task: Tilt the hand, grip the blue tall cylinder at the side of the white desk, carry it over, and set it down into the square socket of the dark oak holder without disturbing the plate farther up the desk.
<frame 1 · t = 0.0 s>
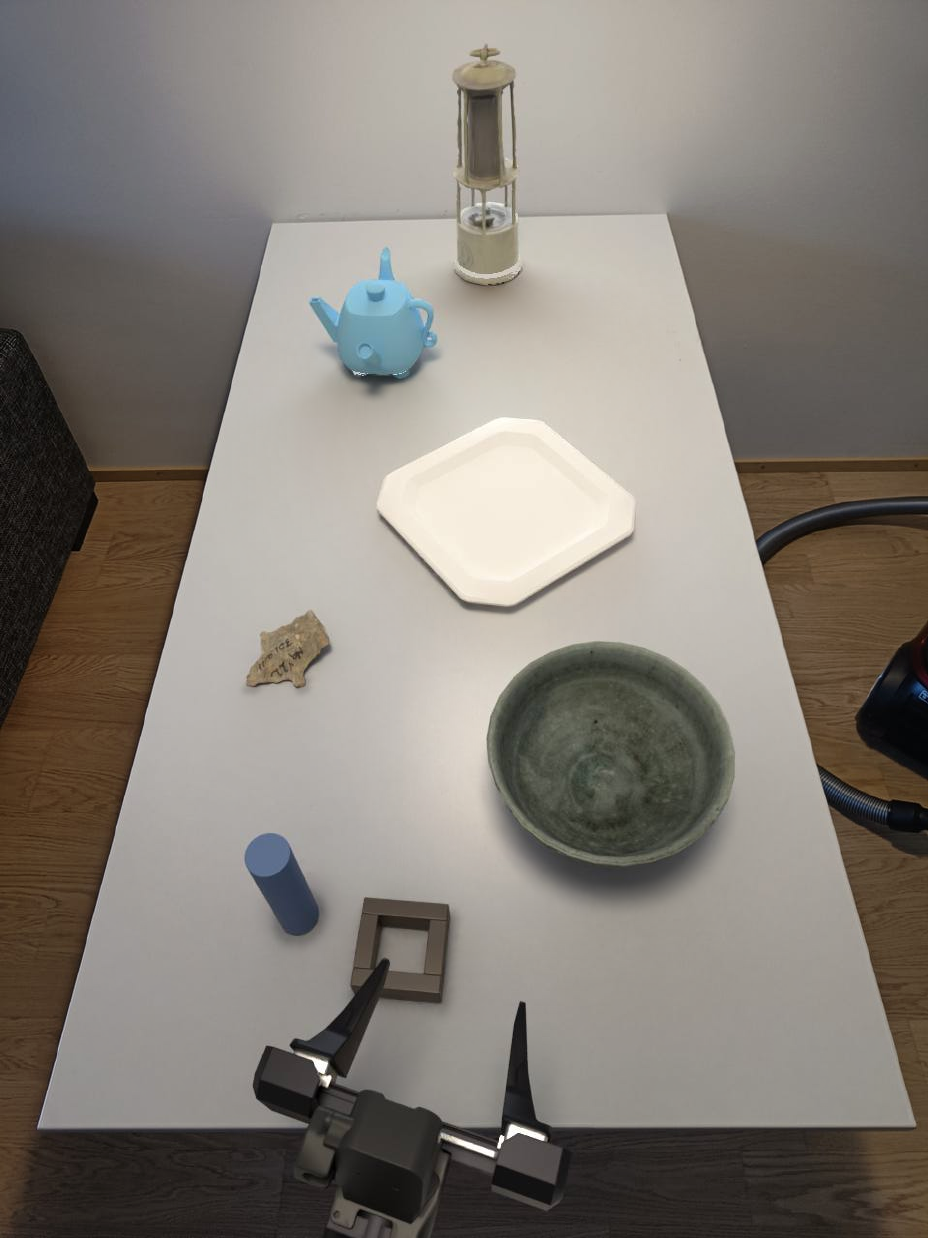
hand: (453, 981, 57), 16 cm above the table, tool horizontal, fingers open, 9 cm apart
lamp: (488, 262, 136), on the table
plate: (505, 515, 104), on the table
artifact: (290, 659, 92), on the table
blue tall cylinder: (299, 915, 76), on the table
holder: (403, 954, 74), on the table
teapot: (379, 360, 122), on the table
bowl: (598, 794, 82), on the table
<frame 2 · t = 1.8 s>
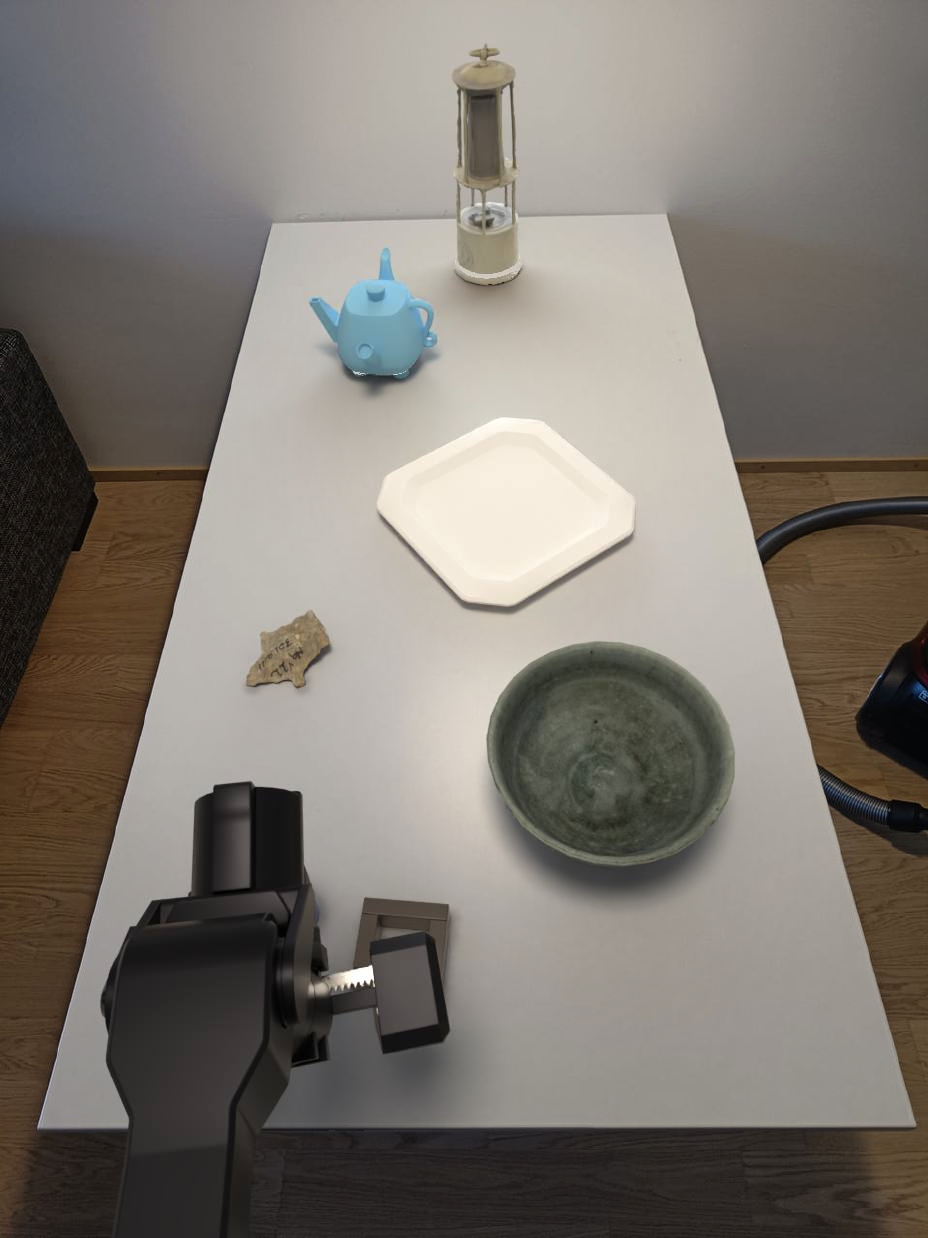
hand: (310, 1024, 59), 12 cm above the table, tool pointing down, fingers open, 9 cm apart
nothing on the table moved.
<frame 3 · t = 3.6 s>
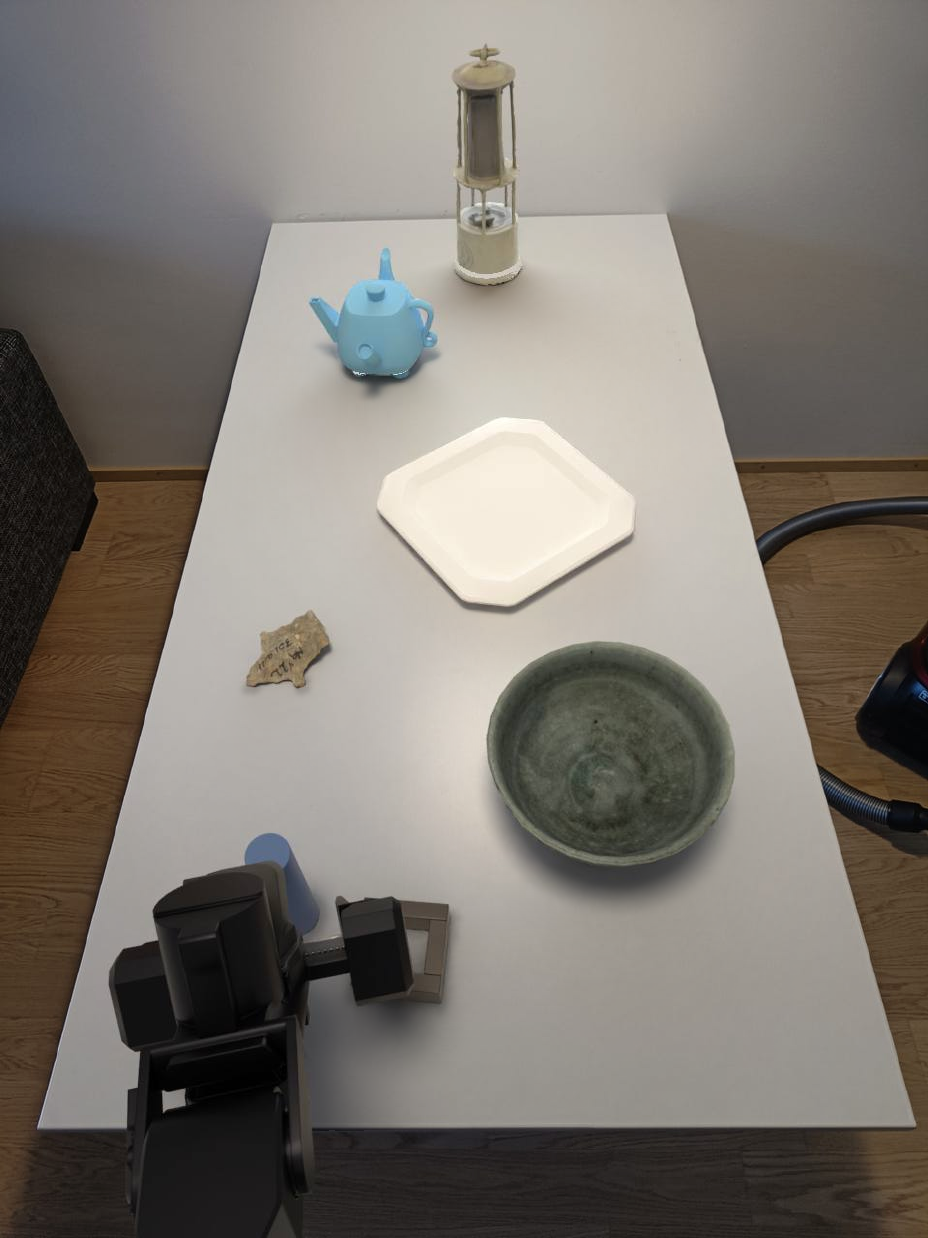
hand: (278, 914, 66), 10 cm above the table, tool tilted 45°, fingers open, 9 cm apart
nothing on the table moved.
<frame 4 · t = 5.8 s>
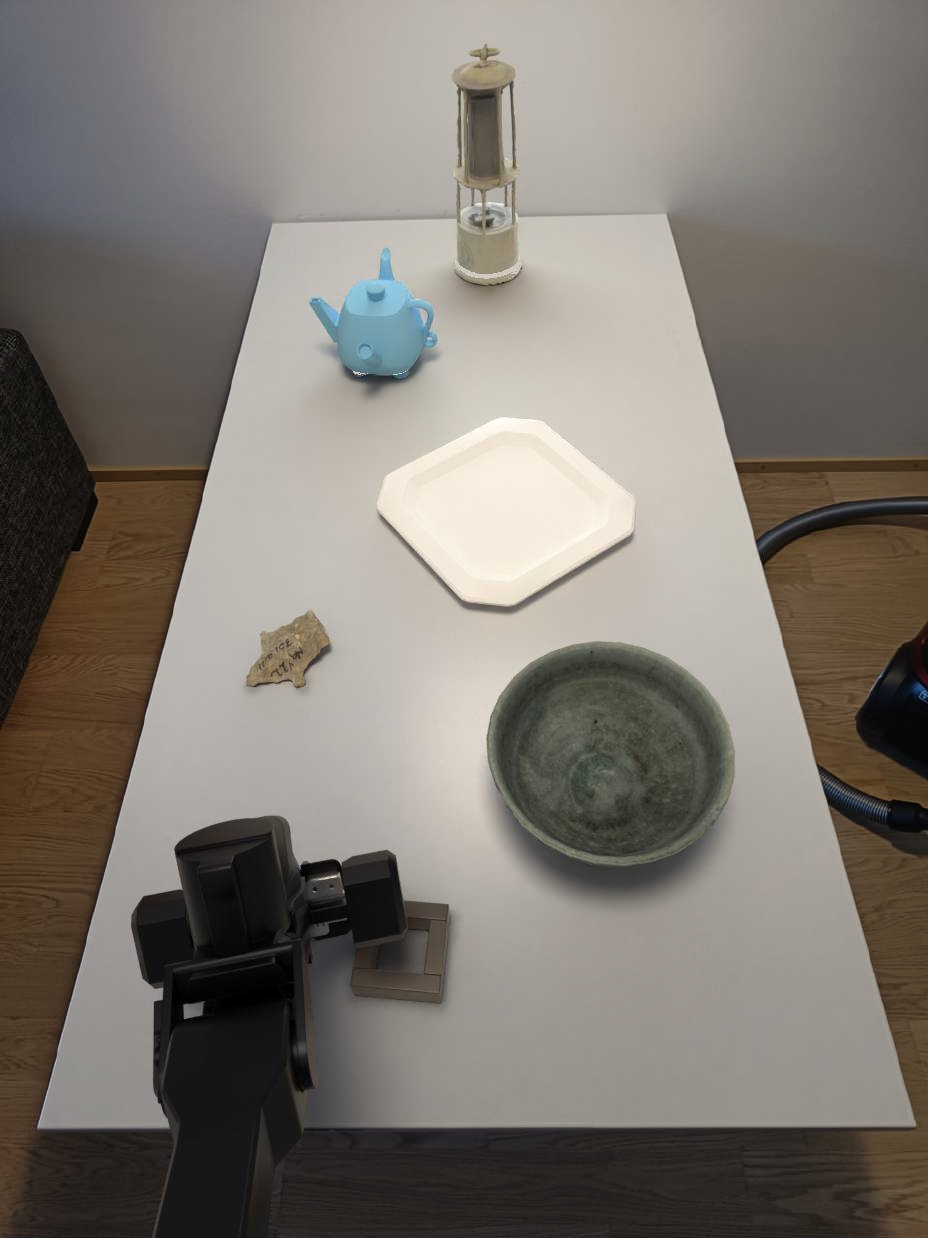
hand: (283, 871, 71), 7 cm above the table, tool tilted 45°, fingers closed on blue tall cylinder, 3 cm apart
blue tall cylinder: (299, 915, 76), on the table, touching gripper
everything else where it was.
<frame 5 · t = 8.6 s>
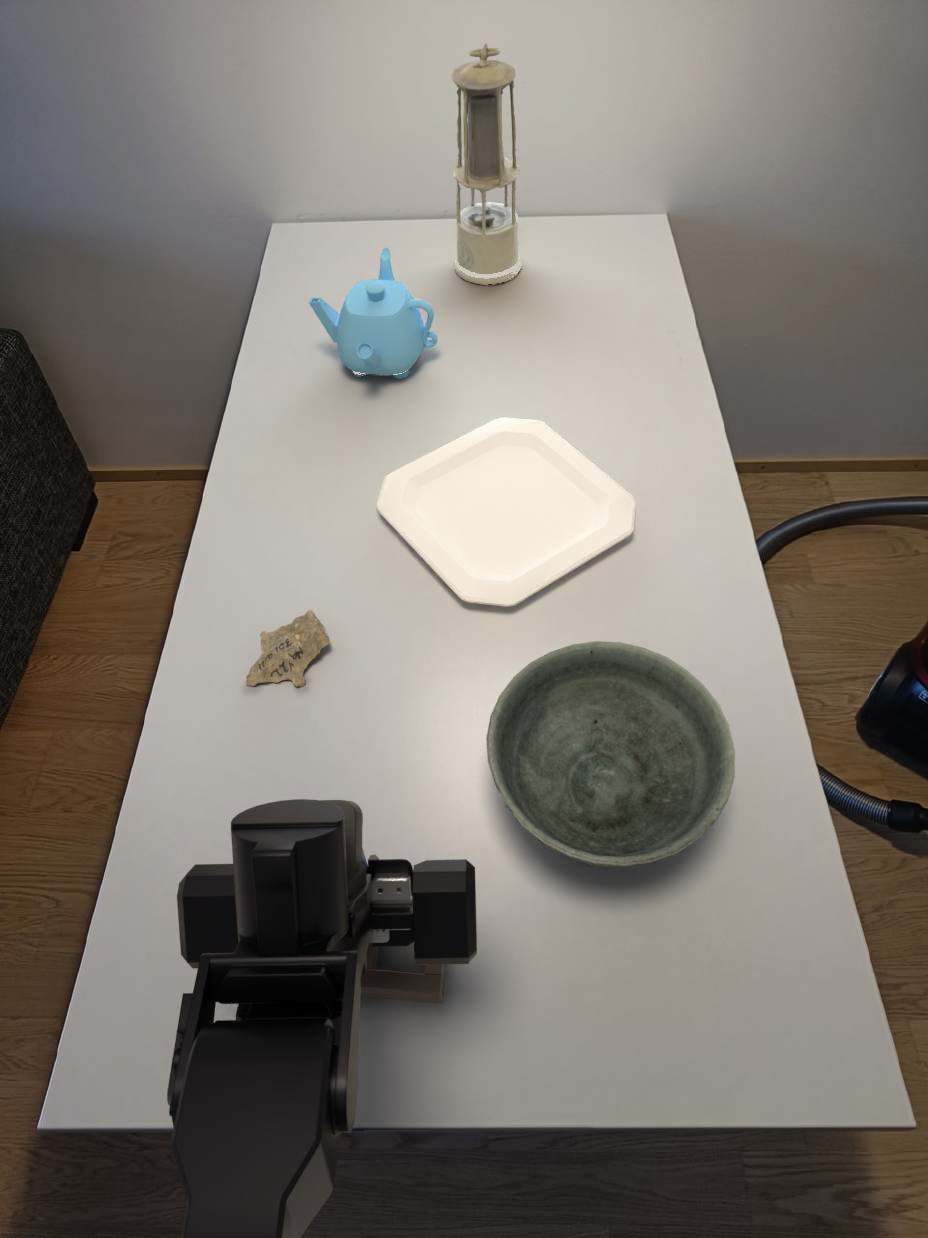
hand: (348, 861, 65), 13 cm above the table, tool tilted 45°, fingers closed on blue tall cylinder, 3 cm apart
blue tall cylinder: (358, 911, 69), point 7 cm above the table, touching gripper
everything else where it was.
when the fingers open (7 cm above the table, at t = 11.6 s): blue tall cylinder stays where it is, resting in holder.
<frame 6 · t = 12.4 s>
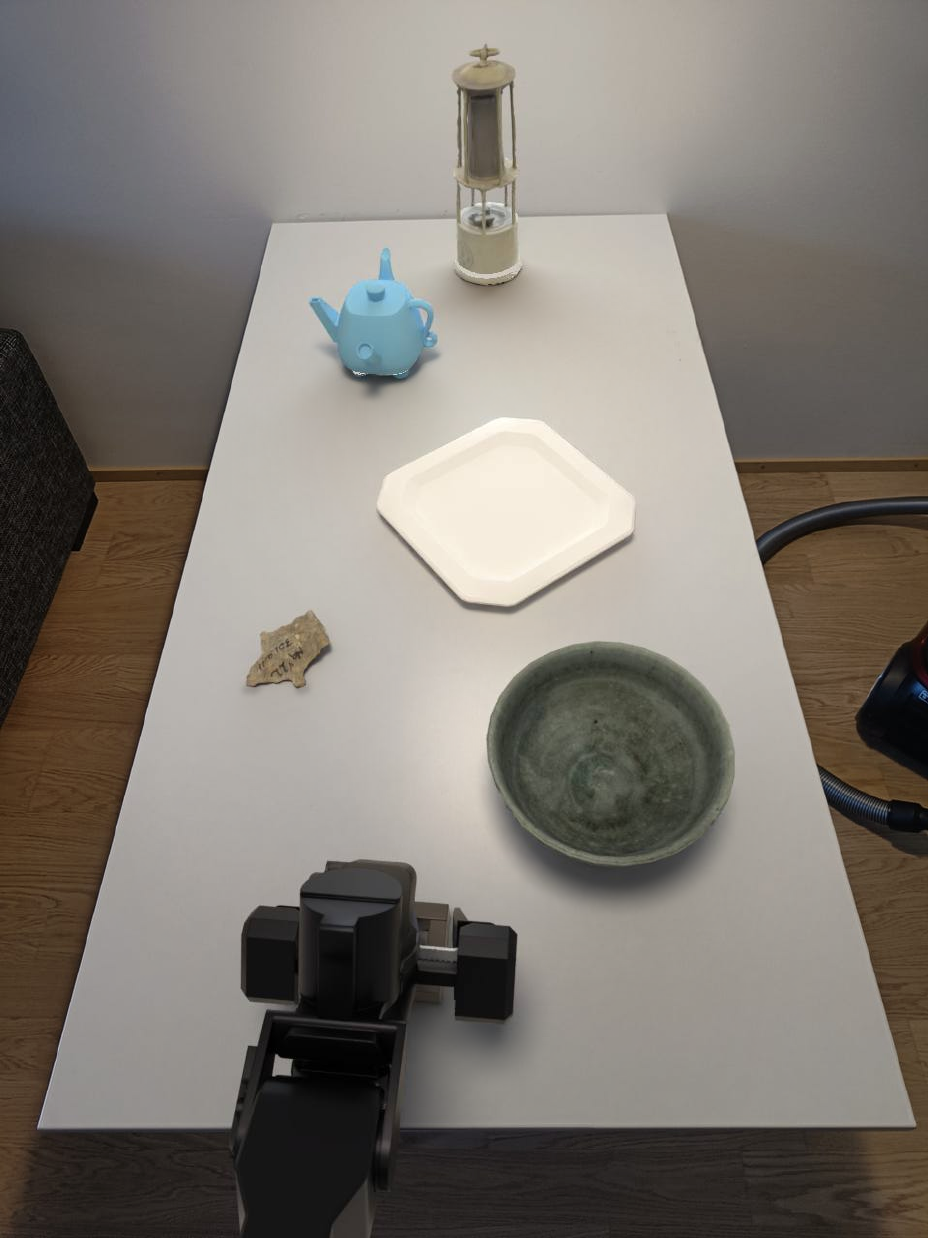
hand: (398, 908, 69), 7 cm above the table, tool tilted 45°, fingers open, 9 cm apart
blue tall cylinder: (403, 954, 74), resting in holder
everything else where it was.
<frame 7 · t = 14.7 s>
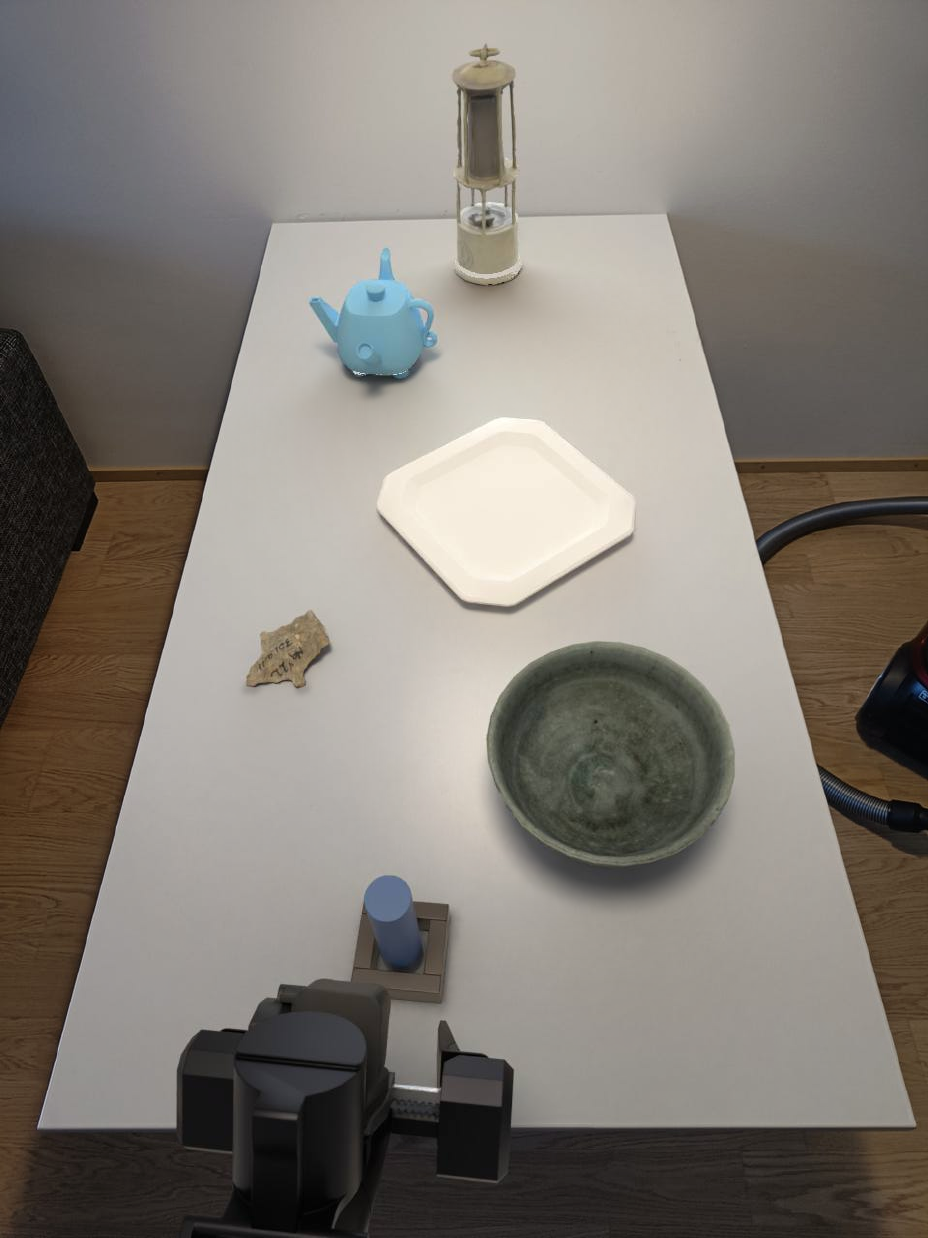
hand: (373, 1020, 58), 14 cm above the table, tool tilted 45°, fingers open, 9 cm apart
nothing on the table moved.
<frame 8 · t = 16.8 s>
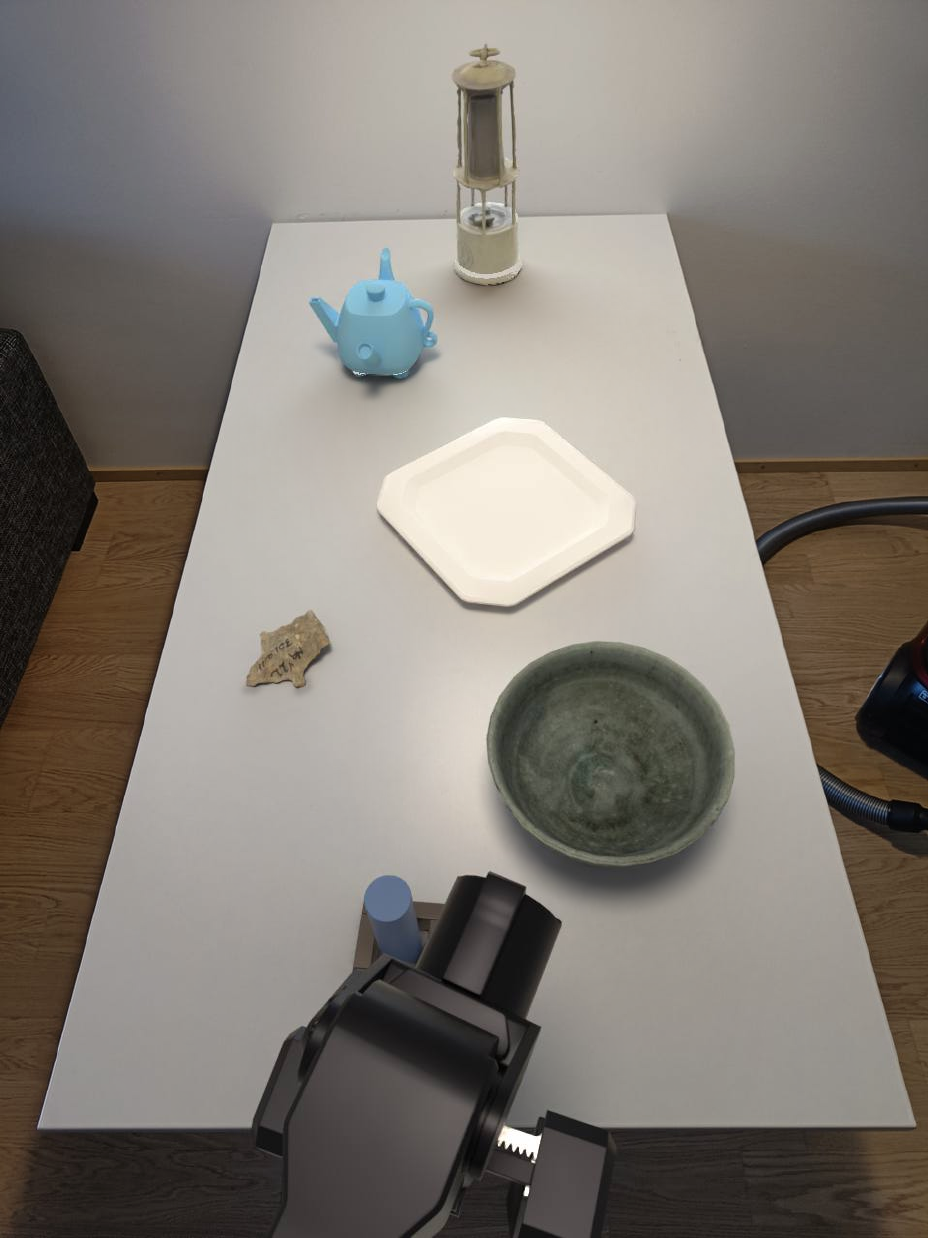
hand: (440, 1158, 54), 13 cm above the table, tool pointing down, fingers open, 9 cm apart
nothing on the table moved.
at the end: blue tall cylinder 0.0 cm off-centre in the holder, point 0.0 cm above the holder's base; blue tall cylinder tilted 0°; plate moved 0.2 cm from its start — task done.
